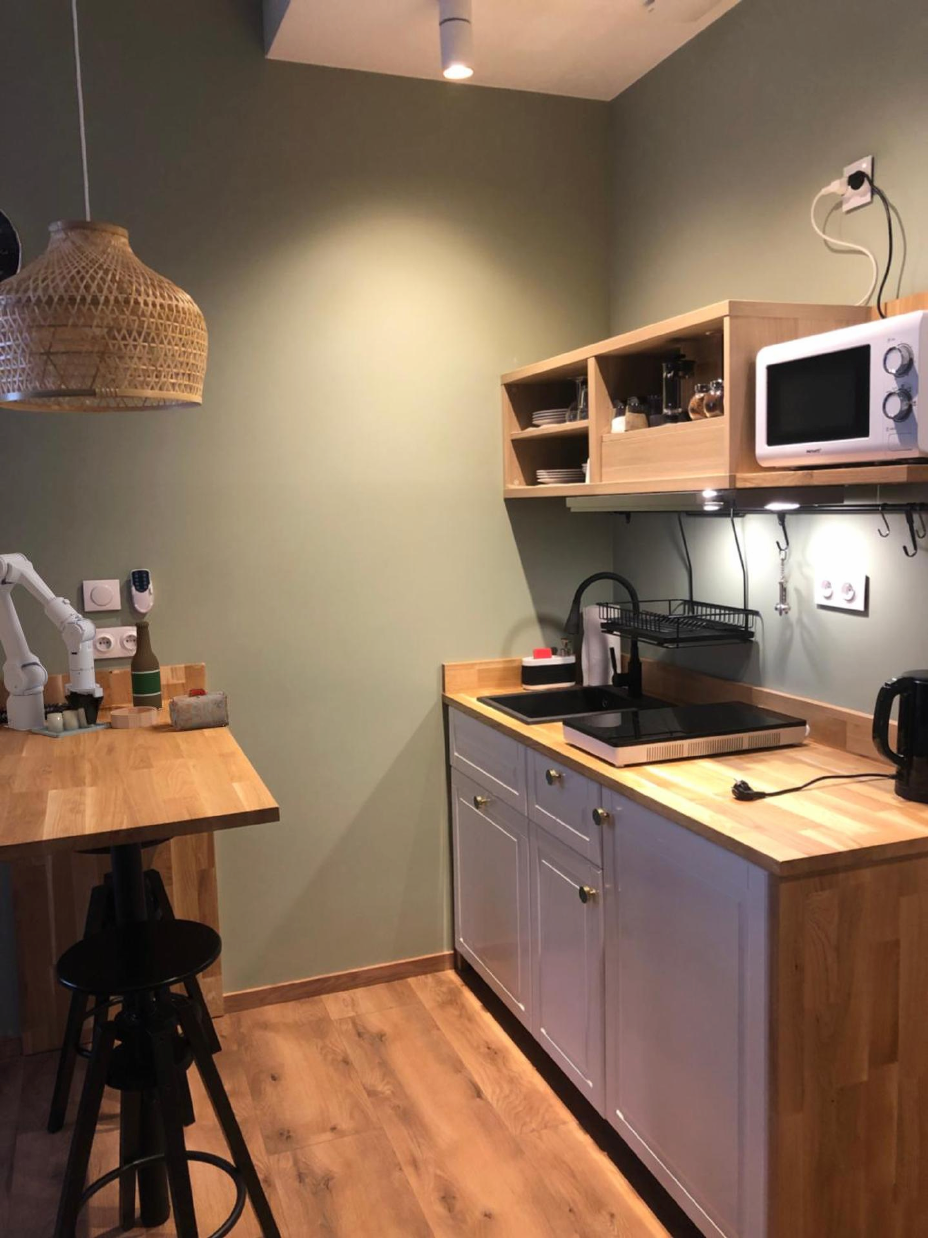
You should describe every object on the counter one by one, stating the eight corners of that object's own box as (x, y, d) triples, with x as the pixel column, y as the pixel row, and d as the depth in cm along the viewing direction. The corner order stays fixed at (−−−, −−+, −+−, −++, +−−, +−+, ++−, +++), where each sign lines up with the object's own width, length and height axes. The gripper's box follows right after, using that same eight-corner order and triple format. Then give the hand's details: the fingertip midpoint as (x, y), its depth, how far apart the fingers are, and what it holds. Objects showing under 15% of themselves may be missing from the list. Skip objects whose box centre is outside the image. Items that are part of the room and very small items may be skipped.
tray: (31, 733, 254) (30, 729, 254) (84, 723, 265) (83, 718, 265) (57, 739, 246) (57, 734, 246) (111, 729, 256) (111, 724, 256)
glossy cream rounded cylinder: (61, 729, 255) (59, 711, 255) (74, 727, 258) (72, 709, 257) (68, 731, 253) (66, 713, 252) (81, 728, 255) (79, 710, 255)
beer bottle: (158, 712, 277) (152, 622, 274) (129, 713, 277) (122, 624, 274) (166, 706, 284) (160, 619, 282) (137, 707, 284) (131, 620, 282)
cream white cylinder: (76, 727, 258) (75, 709, 258) (89, 724, 261) (87, 706, 260) (83, 728, 256) (82, 710, 255) (96, 726, 258) (94, 708, 258)
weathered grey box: (173, 733, 249) (170, 693, 248) (169, 727, 256) (166, 688, 255) (230, 727, 254) (228, 687, 253) (225, 721, 261) (222, 682, 260)
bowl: (102, 727, 259) (101, 712, 259) (141, 719, 267) (140, 705, 267) (127, 732, 252) (125, 716, 251) (166, 724, 260) (165, 709, 260)
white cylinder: (45, 733, 252) (44, 714, 252) (59, 730, 255) (57, 712, 254) (52, 734, 250) (51, 716, 249) (66, 731, 252) (64, 713, 252)
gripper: (112, 668, 255) (116, 723, 256) (81, 664, 264) (85, 717, 266) (85, 672, 250) (90, 728, 251) (55, 668, 259) (59, 722, 261)
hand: (86, 722), depth 258 cm, fingers open, 5 cm apart
